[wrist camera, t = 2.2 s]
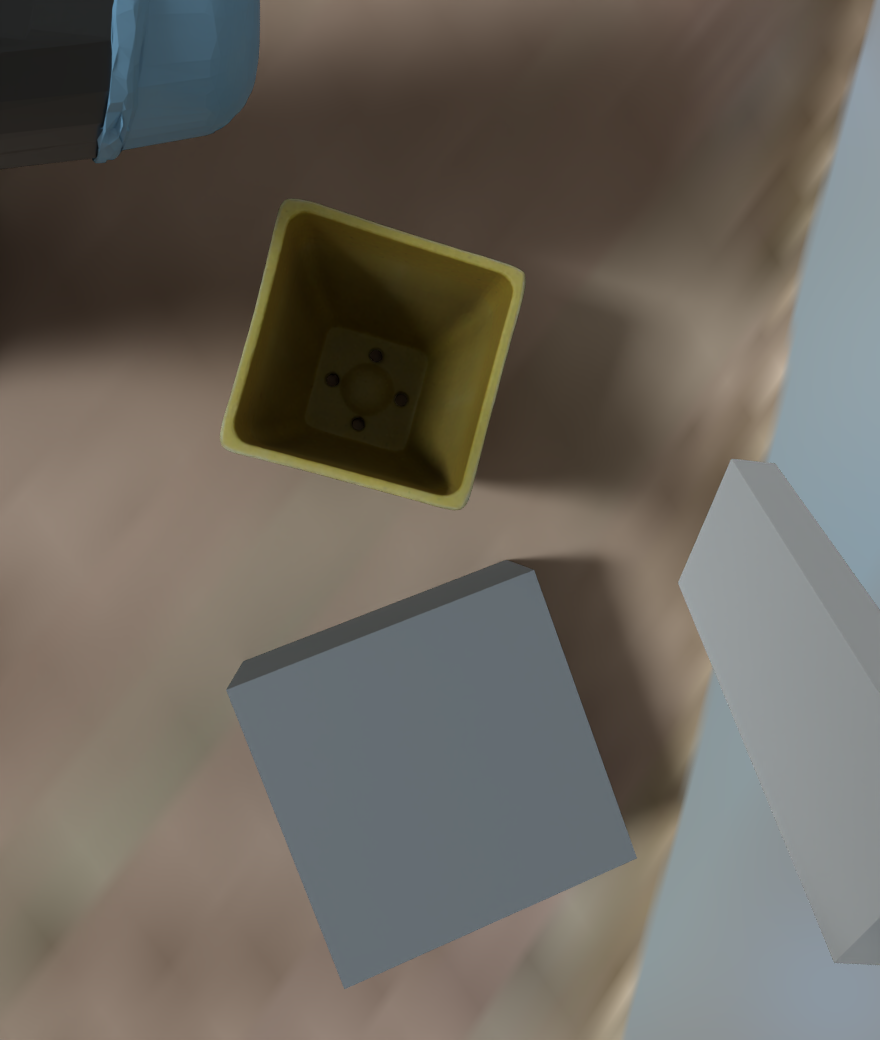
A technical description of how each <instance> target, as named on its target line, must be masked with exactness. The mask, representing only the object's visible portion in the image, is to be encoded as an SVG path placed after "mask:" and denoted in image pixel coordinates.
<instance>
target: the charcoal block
mask: <svg viewBox="0 0 880 1040" xmlns="http://www.w3.org/2000/svg"><path fill="white" fill-rule="evenodd" d="M227 693H228V695H229V698H230V701H231V703H232V706H233V708H234V711H235V713H236V716H237V718H238V721H239V723H240V726H241V728H242V731H243V733H244V736H245V738H246V741H247V744H248V746H249V749H250V751H251V754H252V756H253V759H254V761H255V764H256V766H257V769H258V771H259V774H260V776H261V779H262V781H263V784H264V787H265V789H266V792H267V794H268V797H269V799H270V802H271V804H272V807H273V809H274V812H275V814H276V817H277V819H278V822H279V825H280V827H281V830H282V832H283V835H284V837H285V840H286V842H287V845H288V847H289V850H290V852H291V855H292V857H293V860H294V862H295V865H296V868H297V870H298V873H299V875H300V878H301V880H302V883H303V885H304V888H305V890H306V893H307V895H308V898H309V900H310V903H311V905H312V908H313V911H314V913H315V916H316V918H317V921H318V923H319V926H320V928H321V931H322V933H323V936H324V938H325V941H326V943H327V946H328V948H329V951H330V954H331V956H332V959H333V961H334V964H335V966H336V969H337V971H338V974H339V976H340V979H341V981H342V984H343V986H344V989H346V988H348V987H350V986H353V985H355V984H357V983H359V982H362V981H364V980H366V979H368V978H370V977H373V976H375V975H377V974H379V973H382V972H384V971H386V970H388V969H391V968H393V967H395V966H397V965H399V964H402V963H404V962H406V961H408V960H411V959H413V958H415V957H417V956H420V955H422V954H424V953H426V952H429V951H431V950H433V949H435V948H437V947H440V946H442V945H444V944H446V943H449V942H451V941H453V940H455V939H458V938H460V937H462V936H464V935H466V934H469V933H471V932H473V931H475V930H478V929H480V928H482V927H484V926H487V925H489V924H491V923H493V922H495V921H498V920H500V919H502V918H504V917H507V916H509V915H511V914H513V913H516V912H518V911H520V910H522V909H525V908H527V907H529V906H531V905H533V904H536V903H538V902H540V901H542V900H545V899H547V898H549V897H551V896H554V895H556V894H558V893H560V892H562V891H565V890H567V889H569V888H571V887H574V886H576V885H578V884H580V883H583V882H585V881H587V880H589V879H592V878H594V877H596V876H598V875H600V874H603V873H605V872H607V871H609V870H612V869H614V868H616V867H618V866H621V865H623V864H625V863H627V862H629V861H632V860H634V859H636V858H637V857H636V854H635V851H634V849H633V846H632V843H631V840H630V837H629V835H628V832H627V829H626V826H625V823H624V821H623V818H622V815H621V812H620V809H619V807H618V804H617V801H616V798H615V795H614V793H613V790H612V787H611V784H610V781H609V779H608V776H607V773H606V770H605V767H604V765H603V762H602V759H601V756H600V753H599V751H598V748H597V745H596V742H595V739H594V737H593V734H592V731H591V728H590V725H589V723H588V720H587V717H586V714H585V711H584V709H583V706H582V703H581V700H580V697H579V694H578V692H577V689H576V686H575V683H574V680H573V678H572V675H571V672H570V669H569V666H568V664H567V661H566V658H565V655H564V652H563V650H562V647H561V644H560V641H559V638H558V636H557V633H556V630H555V627H554V624H553V622H552V619H551V616H550V613H549V610H548V608H547V605H546V602H545V599H544V596H543V594H542V591H541V588H540V585H539V582H538V580H537V577H536V574H535V571H534V570H533V569H530V568H527V567H525V566H522V565H519V564H516V563H514V562H511V561H508V560H505V561H502V562H500V563H497V564H494V565H492V566H489V567H487V568H484V569H481V570H479V571H476V572H474V573H471V574H468V575H466V576H463V577H461V578H458V579H455V580H453V581H450V582H448V583H445V584H443V585H440V586H437V587H435V588H432V589H430V590H427V591H424V592H422V593H419V594H417V595H414V596H411V597H409V598H406V599H404V600H401V601H398V602H396V603H393V604H391V605H388V606H386V607H383V608H380V609H378V610H375V611H373V612H370V613H367V614H365V615H362V616H360V617H357V618H354V619H352V620H349V621H347V622H344V623H342V624H339V625H336V626H334V627H331V628H329V629H326V630H323V631H321V632H318V633H316V634H313V635H310V636H308V637H305V638H303V639H300V640H297V641H295V642H292V643H290V644H287V645H285V646H282V647H279V648H277V649H274V650H272V651H269V652H266V653H264V654H261V655H259V656H256V657H253V658H251V659H248V660H246V661H243V663H242V664H241V666H240V668H239V669H238V671H237V673H236V674H235V676H234V678H233V679H232V681H231V683H230V685H229V686H228V688H227Z"/></svg>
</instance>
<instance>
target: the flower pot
mask: <svg viewBox="0 0 880 1040" xmlns="http://www.w3.org/2000/svg"><path fill="white" fill-rule="evenodd" d="M524 290H525V274H524V272H523V271H521V270H520V269H518V268H516V267H514V266H512V265H509V264H506V263H503V262H500V261H497V260H494V259H491V258H487V257H484V256H481V255H478V254H474V253H471V252H467V251H464V250H460V249H457V248H454V247H451V246H448V245H445V244H441V243H438V242H435V241H431V240H428V239H424V238H421V237H419V236H415V235H412V234H409V233H406V232H403V231H400V230H397V229H394V228H390V227H387V226H383V225H381V224H378V223H375V222H372V221H369V220H366V219H363V218H360V217H357V216H354V215H350V214H348V213H345V212H342V211H339V210H336V209H333V208H330V207H327V206H324V205H321V204H318V203H314V202H310V201H306V200H301V199H286V200H285V201H284V202H283V203H282V204H281V206H280V208H279V211H278V214H277V219H276V222H275V226H274V230H273V234H272V239H271V244H270V248H269V252H268V257H267V261H266V266H265V269H264V273H263V277H262V282H261V286H260V290H259V294H258V298H257V303H256V306H255V311H254V315H253V318H252V321H251V325H250V329H249V332H248V336H247V340H246V343H245V346H244V350H243V353H242V357H241V361H240V364H239V367H238V371H237V375H236V378H235V382H234V385H233V388H232V392H231V395H230V399H229V402H228V405H227V408H226V412H225V415H224V419H223V422H222V427H221V433H220V442H221V445H222V447H223V448H224V449H226V450H228V451H230V452H233V453H236V454H240V455H244V456H249V457H253V458H257V459H261V460H265V461H269V462H273V463H277V464H280V465H284V466H288V467H292V468H296V469H300V470H304V471H308V472H312V473H315V474H319V475H323V476H326V477H330V478H334V479H337V480H341V481H345V482H349V483H352V484H356V485H360V486H363V487H367V488H371V489H375V490H378V491H382V492H386V493H389V494H393V495H397V496H400V497H404V498H408V499H411V500H415V501H419V502H422V503H426V504H429V505H433V506H436V507H440V508H444V509H449V510H460V509H462V508H464V506H465V505H466V504H467V502H468V500H469V497H470V494H471V491H472V488H473V483H474V480H475V475H476V472H477V468H478V464H479V460H480V456H481V452H482V448H483V445H484V441H485V437H486V433H487V429H488V425H489V421H490V417H491V413H492V410H493V406H494V403H495V399H496V395H497V392H498V388H499V383H500V379H501V376H502V372H503V368H504V365H505V361H506V358H507V354H508V350H509V347H510V343H511V339H512V336H513V332H514V329H515V326H516V322H517V319H518V315H519V311H520V307H521V304H522V300H523V295H524ZM374 350H378V351H380V352H381V354H382V359H381V360H380V361H379V362H373V361H372V360H371V359H370V353H371V352H372V351H374ZM331 374H335V375H337V376H338V378H339V383H338V384H337V385H336V386H330V385H328V383H327V377H328V376H329V375H331ZM398 394H404V395H405V396H406V398H407V402H406V404H405V405H403V406H399V405H397V404H396V402H395V397H396V396H397V395H398ZM355 418H361V419H362V420H363V421H364V427H363V428H362V429H361V430H355V429H354V428H353V427H352V421H353V419H355Z"/></svg>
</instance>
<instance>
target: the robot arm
mask: <svg viewBox="0 0 880 1040" xmlns="http://www.w3.org/2000/svg"><path fill="white" fill-rule="evenodd" d="M259 44H260V0H0V169H5V168H13V167H22V166H31V165H39V164H48V163H56V162H65V161H74V160H82V159H92V160H93V161H94V162H95V163H106V161H107V160H114V159H115V158H116V157H118V156H119V154H120V152H121V151H122V150H127V149H132V148H138V147H144V146H149V145H155V144H161V143H166V142H172V141H178V140H183V139H189V138H195V137H200V136H206V135H209V134H212V133H214V132H215V131H216V130H219V129H221V128H222V127H224V126H225V125H227V124H228V123H229V122H230V121H231V120H232V119H233V117H234V116H235V115H236V114H237V113H239V112H240V111H241V109H242V108H243V107H244V105H245V104H246V102H247V99H248V97H249V95H250V93H251V92H252V90H253V86H254V83H255V78H256V72H257V65H258V59H259ZM678 584H679V586H680V589H681V591H682V594H683V596H684V598H685V601H686V603H687V606H688V608H689V611H690V613H691V616H692V618H693V620H694V623H695V625H696V628H697V630H698V633H699V635H700V637H701V640H702V642H703V645H704V647H705V650H706V652H707V654H708V657H709V659H710V662H711V664H712V667H713V669H714V671H715V674H716V676H717V679H718V681H719V684H720V686H721V689H722V691H723V693H724V696H725V698H726V701H727V703H728V706H729V708H730V710H731V713H732V715H733V717H734V720H735V723H736V725H737V727H738V730H739V732H740V735H741V737H742V739H743V742H744V744H745V747H746V749H747V752H748V754H749V757H750V759H751V762H752V764H753V766H754V769H755V771H756V774H757V776H758V779H759V781H760V783H761V786H762V788H763V791H764V793H765V795H766V798H767V800H768V803H769V805H770V808H771V810H772V813H773V815H774V818H775V820H776V822H777V825H778V827H779V830H780V832H781V835H782V837H783V839H784V842H785V844H786V847H787V849H788V852H789V854H790V856H791V859H792V861H793V864H794V866H795V869H796V871H797V873H798V876H799V878H800V881H801V883H802V886H803V888H804V891H805V893H806V895H807V898H808V900H809V903H810V905H811V907H812V910H813V912H814V915H815V917H816V920H817V922H818V925H819V927H820V929H821V932H822V934H823V937H824V939H825V942H826V944H827V947H828V949H829V951H830V954H831V956H832V959H833V961H834V963H849V964H867V965H880V610H879V608H878V607H877V606H876V604H875V603H874V601H873V600H872V598H871V597H870V596H869V595H868V593H867V592H866V590H865V589H864V587H863V586H862V584H861V583H860V582H859V580H858V579H857V577H856V576H855V575H854V573H853V572H852V570H851V569H850V568H849V566H848V565H847V563H846V562H845V561H844V559H843V558H842V556H841V555H840V554H839V552H838V551H837V549H836V548H835V547H834V545H833V544H832V542H831V541H830V540H829V538H828V537H827V535H826V534H825V533H824V531H823V530H822V528H821V527H820V526H819V524H818V523H817V521H816V520H815V519H814V517H813V516H812V515H811V513H810V512H809V510H808V509H807V507H806V506H805V505H804V503H803V502H802V501H801V499H800V498H799V496H798V495H797V494H796V492H795V491H794V489H793V488H792V486H791V485H790V484H789V482H788V481H787V479H786V478H785V477H784V475H783V474H782V472H781V471H780V470H779V469H778V467H777V465H776V464H775V463H766V462H757V461H748V460H739V459H731V461H730V463H729V465H728V468H727V470H726V472H725V475H724V477H723V479H722V482H721V484H720V486H719V489H718V491H717V493H716V496H715V498H714V500H713V503H712V505H711V507H710V510H709V512H708V514H707V517H706V519H705V521H704V524H703V526H702V528H701V531H700V533H699V535H698V538H697V540H696V542H695V545H694V547H693V549H692V552H691V554H690V556H689V559H688V561H687V563H686V566H685V568H684V570H683V573H682V575H681V577H680V580H679V582H678Z"/></svg>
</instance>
